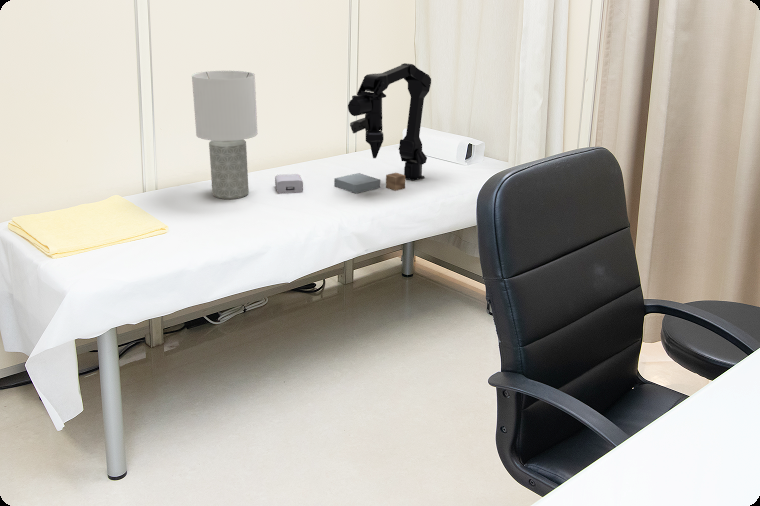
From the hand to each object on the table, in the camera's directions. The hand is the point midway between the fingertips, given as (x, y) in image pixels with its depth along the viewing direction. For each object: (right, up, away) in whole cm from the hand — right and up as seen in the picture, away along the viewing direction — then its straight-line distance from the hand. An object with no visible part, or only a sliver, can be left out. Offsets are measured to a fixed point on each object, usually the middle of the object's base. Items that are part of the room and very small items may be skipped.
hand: (374, 154), depth 266 cm
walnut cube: (+8, -11, +7) cm, 15 cm away
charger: (-32, -12, +6) cm, 34 cm away
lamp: (-51, -15, -4) cm, 53 cm away
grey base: (-6, -11, +7) cm, 15 cm away
